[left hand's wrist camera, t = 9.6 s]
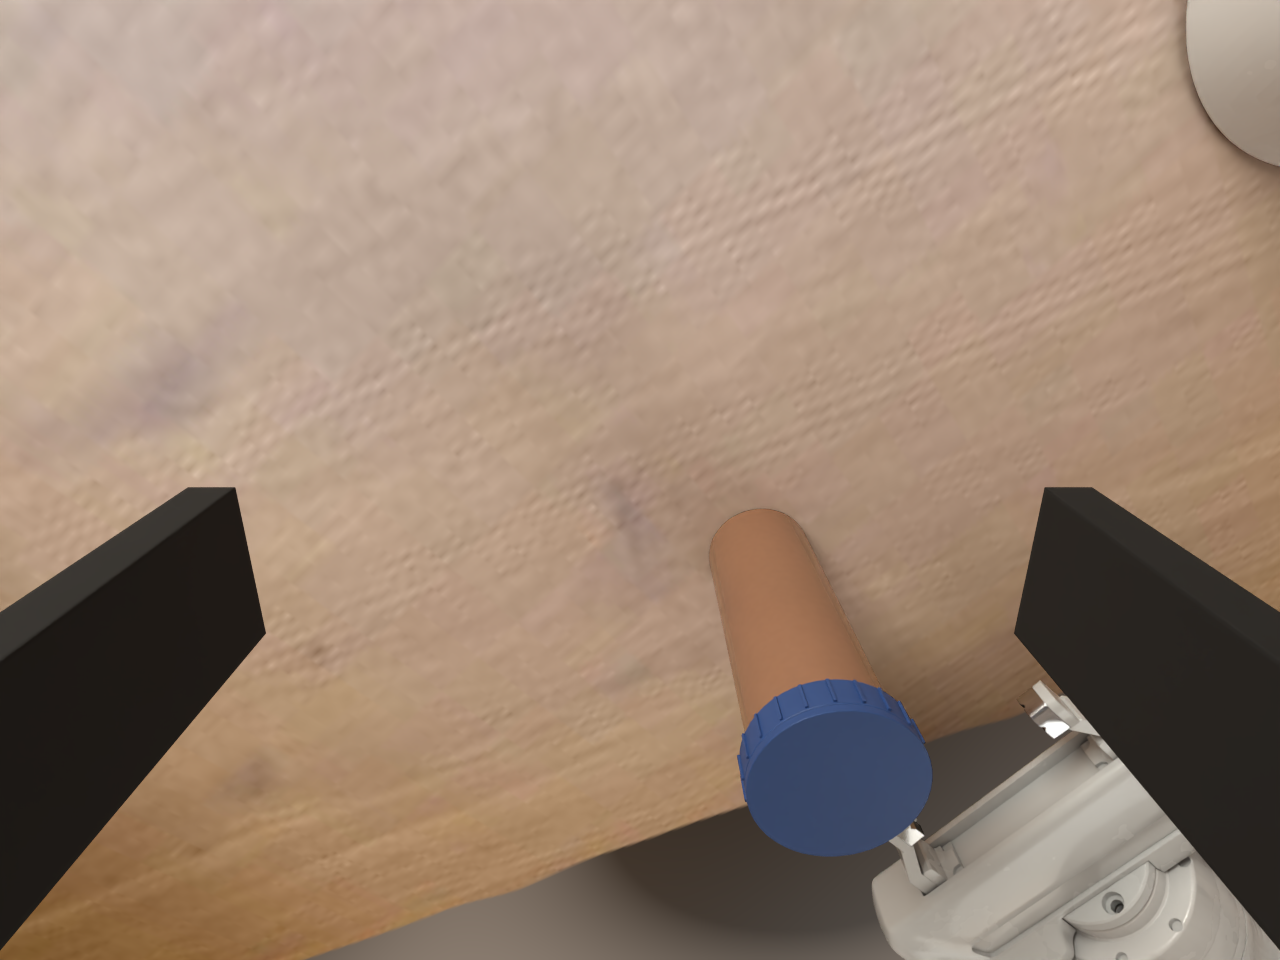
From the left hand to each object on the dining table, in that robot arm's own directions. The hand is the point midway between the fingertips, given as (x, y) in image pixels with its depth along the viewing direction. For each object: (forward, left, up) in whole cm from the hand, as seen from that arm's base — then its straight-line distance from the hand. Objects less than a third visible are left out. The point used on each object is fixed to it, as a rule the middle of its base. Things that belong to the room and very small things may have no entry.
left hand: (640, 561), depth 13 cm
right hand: (+10, -24, -18) cm, 32 cm away
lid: (+3, -14, -8) cm, 16 cm away
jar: (+3, -14, -25) cm, 28 cm away
